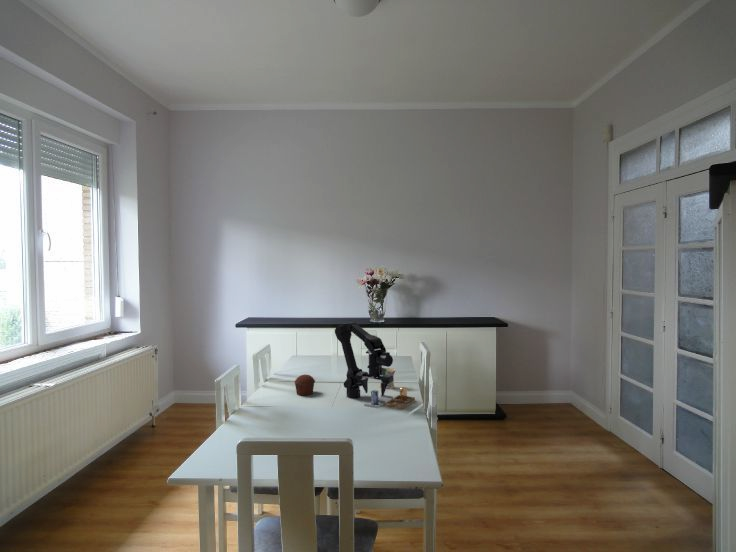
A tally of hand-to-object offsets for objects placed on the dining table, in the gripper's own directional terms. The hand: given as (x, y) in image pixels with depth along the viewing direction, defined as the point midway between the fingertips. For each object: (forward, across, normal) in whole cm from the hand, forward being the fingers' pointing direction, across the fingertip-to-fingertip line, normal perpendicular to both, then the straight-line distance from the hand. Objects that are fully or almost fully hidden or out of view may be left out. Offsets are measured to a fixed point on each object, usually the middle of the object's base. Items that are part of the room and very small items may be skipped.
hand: (374, 394), depth 227 cm
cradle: (+6, 0, -4) cm, 7 cm away
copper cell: (+5, -11, -11) cm, 16 cm away
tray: (+6, -11, -7) cm, 14 cm away
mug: (+6, +8, -29) cm, 31 cm away
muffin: (+6, +44, 0) cm, 44 cm away
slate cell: (+5, 0, 0) cm, 5 cm away
